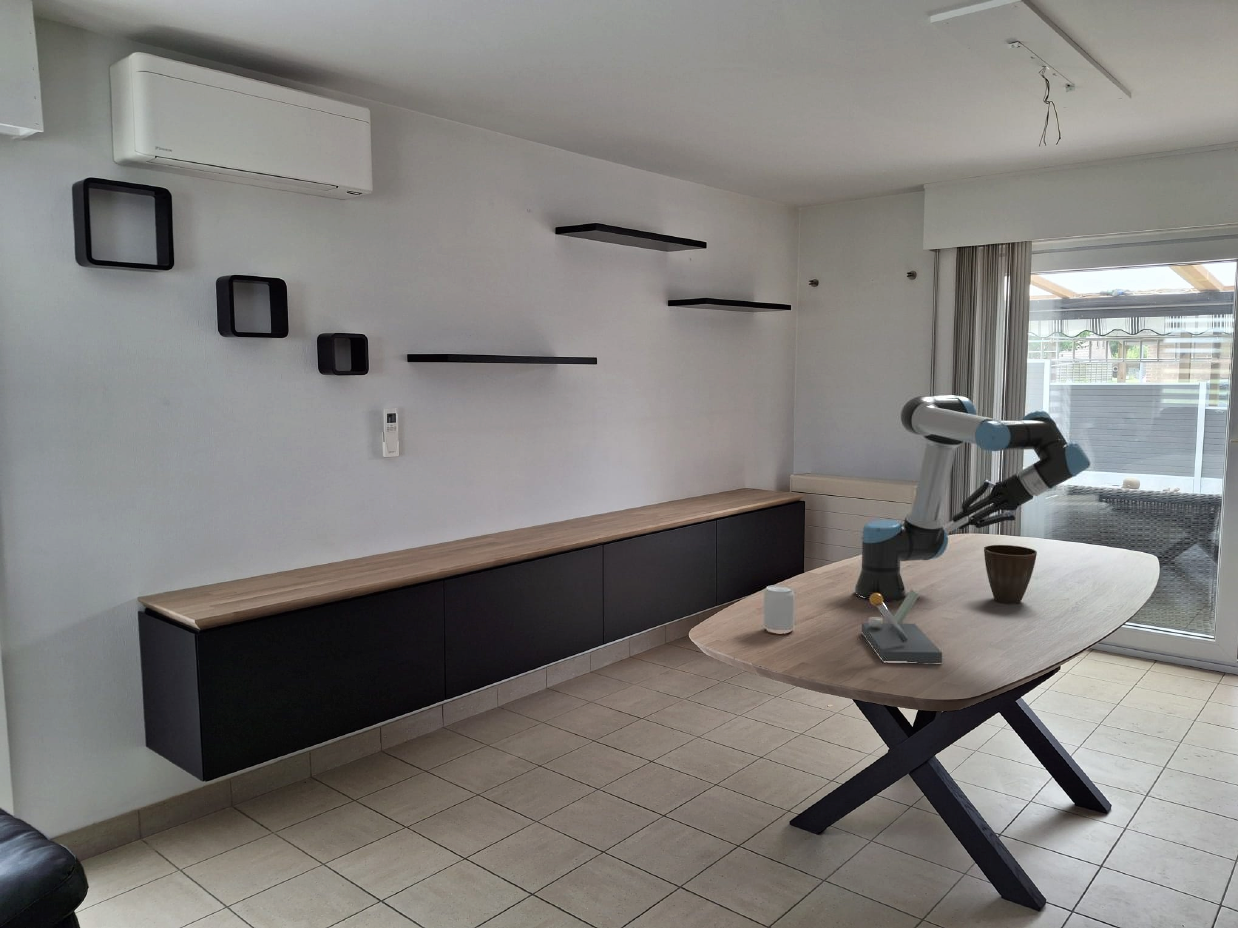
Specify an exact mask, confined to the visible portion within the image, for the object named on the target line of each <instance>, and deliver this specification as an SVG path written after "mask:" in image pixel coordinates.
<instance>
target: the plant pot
mask: <svg viewBox="0 0 1238 928" xmlns="http://www.w3.org/2000/svg"><path fill="white" fill-rule="evenodd" d="M983 553H984V554H983V555H984V556H983V557H984V564H985V570H986V575H987V580H988V582H989V587H990V589H991V592H992V597H993V598H994V600H995V601H996V602H998V603H1003V604H1011V605H1012V604H1020V603H1021V601H1022V600H1023V598H1024V595H1025V593H1026V591H1027V589H1028V587H1029V584H1030V580H1031V578H1032V575H1033V572H1034V568H1035V563H1036V559H1037V555H1038V551H1037V550H1035V549H1034V548H1029V547H1026V546H1020V545H1019V546H1018V545H1013V544H1012V545H1009V544H993V545H986V546H984V547H983Z"/></svg>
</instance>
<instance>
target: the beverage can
mask: <svg viewBox="0 0 1238 928" xmlns="http://www.w3.org/2000/svg"><path fill="white" fill-rule="evenodd" d="M765 587H766V588H765V590H764V592H763V593H764V594H763V596H764V597H763V627H764V626H765V627H767V628H768V629H773V630H791V629H793V628H795V599H796V598H795V597H796V596H795V592H794V588H793V587H791V586H789V585H783V584H781V585H780V584H774V585H773V584H772V585H768V586H765Z"/></svg>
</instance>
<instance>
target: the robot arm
mask: <svg viewBox="0 0 1238 928" xmlns="http://www.w3.org/2000/svg"><path fill="white" fill-rule="evenodd" d="M900 422H901V425H902V426H903V428H904V429H905V430H906V431H907V432H909V433H911V434H914V435H918V436H922V437H923V438H924V440H925V441H926V444H925V445H926V446H925V448H924V454H923V459H922V462H921V463H922V464H921V467H920V471H919V477H918V481H917V486H916V490H915V493H914V494H915V495H914V499H913V504H912V509H911V511H910V512H907V513H906V514H905V516H904V521H903V524H902V522H901V521H900V520H895V519H879V520H873V521H870V522H868V523H866V524H864V527H862V536H861V540H862V543H861V569H860V572H859V576H858V579H857V582H856V584H855V587H854V588H855V589H854V594H855V593H857V595H860V596H863V597H865V598H870V596H871V595H872V594H873V593H879V594H881V595H882V597H883V600H885V601H884V602H893V601H894V600H896V601H901V600H903V599H905V598H906V588H905V585H904V581H903V579H902V575H901V562H913V561H929V560H934V559H938V558H939V557H941V556H942V555H943V554H944V553H945V552H946V550H947V547H948V544H949V537H948V536H947V535H948V534H950V533H951V532H952V531H954V530H956V529H959V530H963V529H965V528H967V527H969V526H974V527H975V528H976V529H981V528H984V527H987V526H988V527H989V526H990V525H991V526H992V525H993V524H994V525H995V524H998V523H1001V522H1005V521H1007V522H1008V521H1011V522H1012V521H1015V520H1016V515H1015V511H1016V510H1017V509H1018V508H1019V507H1020V506H1021V505H1024V504H1025V503H1027V502H1029V501H1031V500H1032V499H1034V497H1039V496H1040V495H1042V494H1044V493H1046V492H1047V491H1049V490H1051V489H1053V488H1055V487H1057V486H1058V485H1060V484H1062V483H1064V482H1066V481H1068V480H1070V479H1072V478H1074V477H1076V476H1078V475H1080V474H1081V473H1082V472H1084V471H1086V470H1088V469H1089V468H1090V467H1091V461H1090V459H1089V457H1088V455H1087V454H1086V453H1085V451H1084V450H1083V448H1082V447H1081V446H1080V444H1079V443H1077V442H1075V441H1072V442H1067V440H1066V439H1065V437H1064V435H1063V434H1062V432H1061V430H1060V429H1059V427H1058V426H1057V423H1056V422H1055V420H1054V419H1053V418H1052V417H1051V415H1050V413H1048V412H1047V411H1045V410H1042V409H1041V410H1035V411H1034V412H1033V411H1031V412H1029V413H1027V414H1026V415H1025V416H1023V417H1022V418H1021V420H1001V419H996V418H991V417H987V416H980V415H977V409H976V408H975V405H974V404H973V402H972V401H971V400H970V399H969V398H968V397H965V396H962V395H955V394H951V395H920V396H916V397H913V398H911V399H910V400H908V401H907V402H906V403H905V404H904V406H903V407H902V409H901V412H900ZM964 443H969V444H973V445H975V446H978V447H979V448H980V449H981V450H982V451H988V452H989V451H991V452H1000V451H1019V450H1020V451H1025V450H1027V451H1028V450H1032V451H1034V452H1035V455H1036V456H1037V457H1038V459H1039V460H1037V461H1036V462H1035V463H1033V464H1030V465H1029V466H1027V467H1025V468H1023V469H1022V470H1020V471H1019V473H1015V474H1013V475H1011V476H1009V477H1006V479H1003V480H1002V481H997V482H993V481H990V480H989V479H988V478H984V479H983V481H982V484H981V485H980V486H979V487H978V488H977V489H976V490H975V491H974V492H973V493H971V495H970V496H968V497H967V498H966V499H965V500H964V501H963V502H962V503H961V509H962V510H961V511H960V512H958V513H957V514H955V515H953V516H952V520H951V521H949V522H947V523H946V524H945V523H944V521H943V520H942V519H941V514H942V510H943V506H944V503H945V497H946V493H947V488H948V484H949V480H950V476H951V473H952V472H951V471H952V469H953V468H952V467H953V464H954V459H955V455H956V450H957V448H958V447H959V446H961V445H963V444H964ZM990 489H991V490H990ZM988 490H989V491H990V493H989V494H988V495H987V496H985V497H984V498H983V499H981V500H979V501H977V500H978V499H979V498H980V497H981V496H983V495H984V494H985V493H986V492H987V491H988ZM976 501H977V502H976ZM981 509H982V510H981ZM979 510H980V511H979ZM999 511H1005V512H1002V513H998V514H995V515H992V514H994V513H997V512H999ZM974 513H975V514H974ZM972 514H973V515H972ZM970 515H971V516H970ZM991 515H992V516H991ZM969 516H970V517H969ZM988 516H989V517H988ZM857 595H856V596H857ZM865 598H864V599H865ZM900 599H901V600H900ZM892 600H893V601H892Z"/></svg>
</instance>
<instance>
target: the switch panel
mask: <svg viewBox="0 0 1238 928" xmlns="http://www.w3.org/2000/svg"><path fill="white" fill-rule="evenodd" d="M900 627H901V629H902V630H903V632H904V633H905V635H906V636H907V637H908V640H907V641H906V642H904V643H902V642H901V640H900V639H899V637H898V636H897V634H896V633H895V632H894V630H893V629H892V627H891V626H890V624H889V623H888V622H886V623H885V622H883V627H871V626H869V622H861V633H862V632H863V634H864V635H865V636H866V638H867V640H868V641H869V642H870V643H871V645H872V646H873V648H874V649H875V650H876V652H877V653H878V654H879V656H880V657H881V658H882V660H883V661H907V662H917V663H942V664H943V652H942V650H940V649H939V648H938V646H936V644H935V643H934V642H933V641H932V640H931V639H930V638H929V637H928V636H927V635H926V634H925V633H924V632H923V630H922V629H920V628H919V626H917V624H916V623H903V622H902V623H901V625H900ZM867 640H866V641H867Z"/></svg>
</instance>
